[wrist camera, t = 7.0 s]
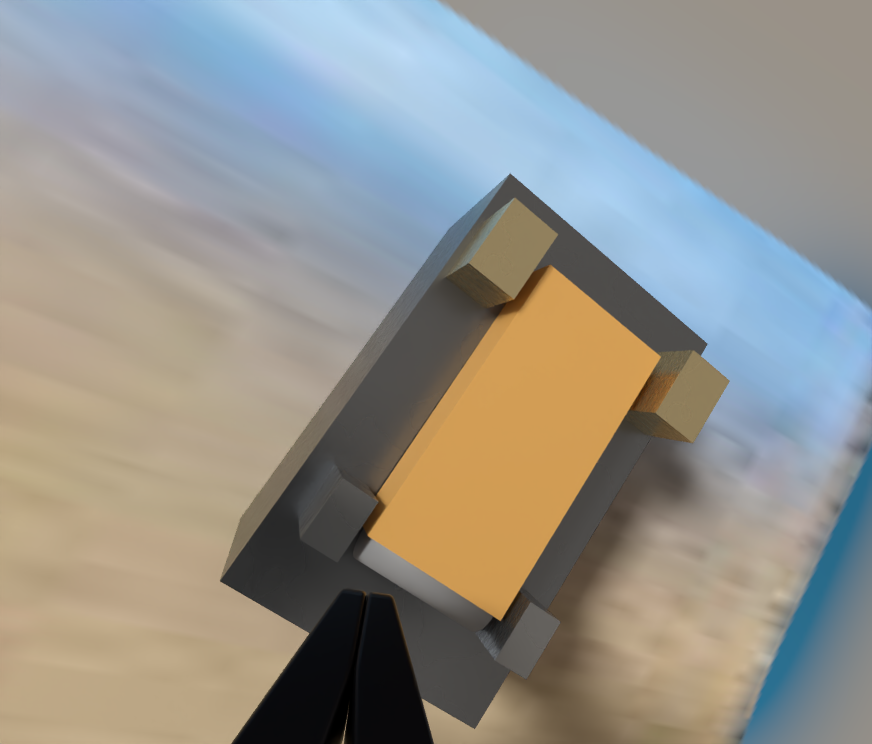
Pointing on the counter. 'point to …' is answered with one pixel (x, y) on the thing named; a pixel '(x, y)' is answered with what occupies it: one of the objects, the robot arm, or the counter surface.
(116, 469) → the counter surface
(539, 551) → the tan rectangular box
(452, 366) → the grey block with pegs
